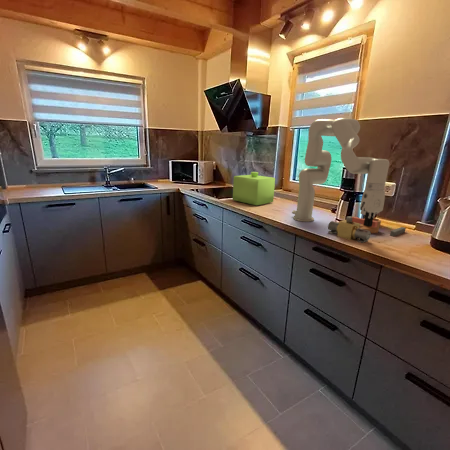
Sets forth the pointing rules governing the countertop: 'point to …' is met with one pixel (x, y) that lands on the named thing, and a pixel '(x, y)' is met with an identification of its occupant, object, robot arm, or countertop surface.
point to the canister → (253, 189)
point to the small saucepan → (371, 229)
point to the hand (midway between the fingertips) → (367, 225)
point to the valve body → (349, 231)
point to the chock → (397, 231)
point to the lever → (360, 221)
